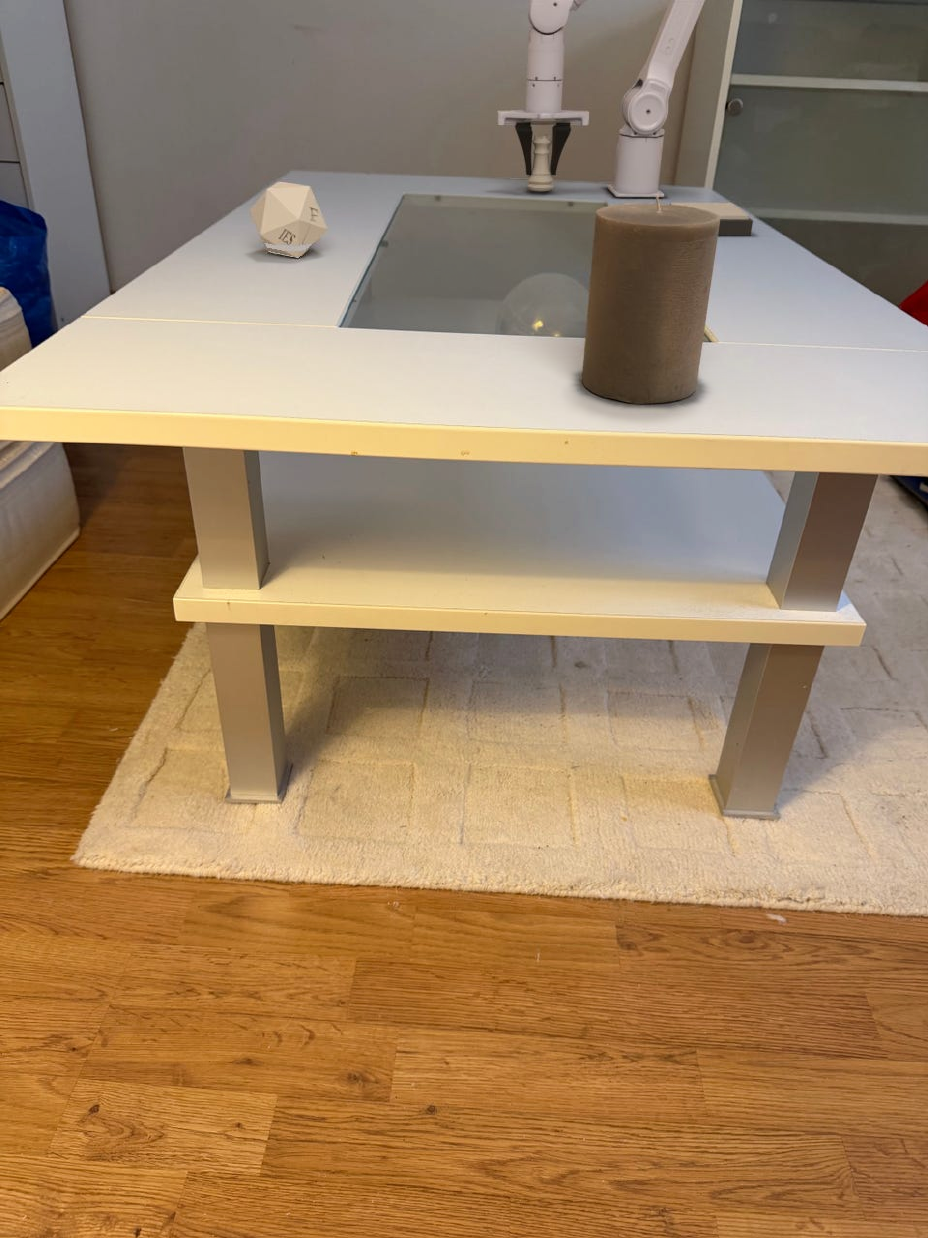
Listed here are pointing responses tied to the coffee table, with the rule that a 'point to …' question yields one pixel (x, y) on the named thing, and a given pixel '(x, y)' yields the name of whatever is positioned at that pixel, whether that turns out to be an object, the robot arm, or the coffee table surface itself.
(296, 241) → the die
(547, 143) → the rook chess piece
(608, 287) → the pillar candle
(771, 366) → the coffee table surface
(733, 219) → the scale
